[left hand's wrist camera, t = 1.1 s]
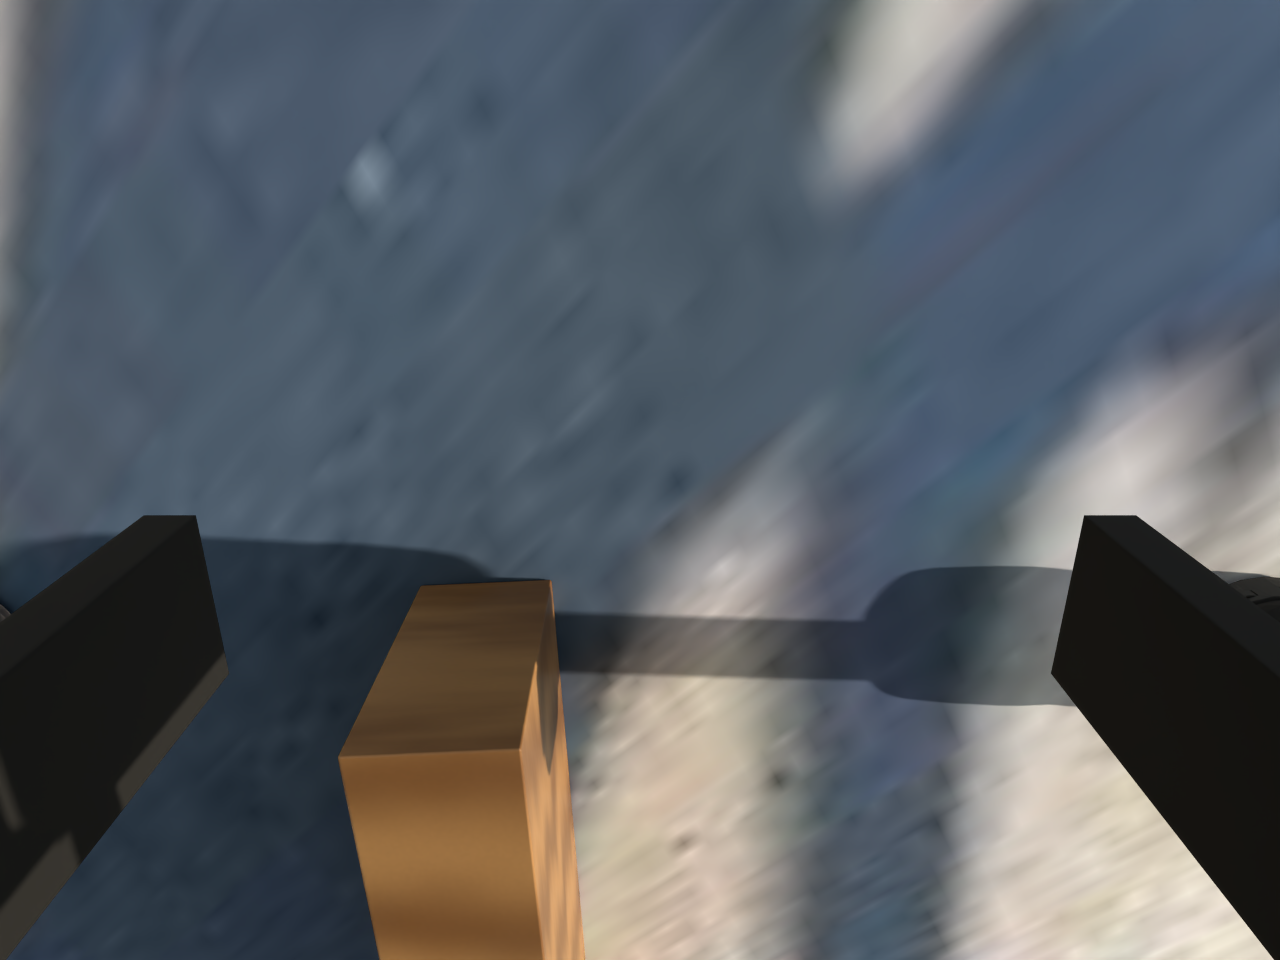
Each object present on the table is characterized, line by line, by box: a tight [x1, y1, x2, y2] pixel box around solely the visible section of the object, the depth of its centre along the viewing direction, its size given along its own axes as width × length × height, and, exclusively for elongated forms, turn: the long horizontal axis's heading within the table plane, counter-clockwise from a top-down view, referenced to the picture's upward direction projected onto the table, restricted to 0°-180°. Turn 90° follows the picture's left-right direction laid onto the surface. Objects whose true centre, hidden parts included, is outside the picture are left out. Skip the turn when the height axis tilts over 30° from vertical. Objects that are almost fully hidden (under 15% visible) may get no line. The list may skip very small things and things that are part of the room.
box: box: [338, 580, 585, 960], centre depth 40 cm, size 28×6×13 cm, turn 2°
